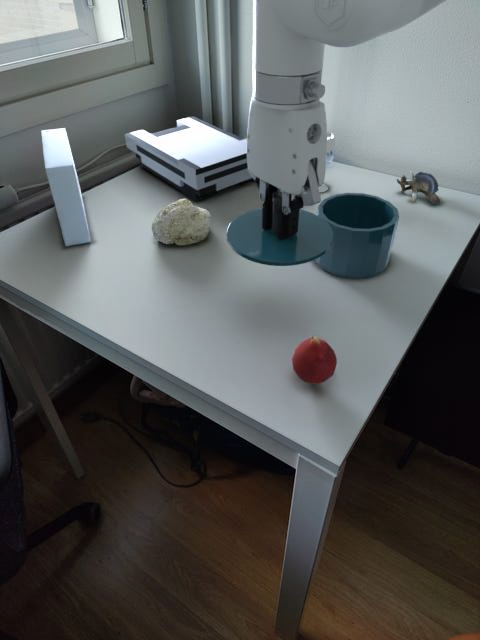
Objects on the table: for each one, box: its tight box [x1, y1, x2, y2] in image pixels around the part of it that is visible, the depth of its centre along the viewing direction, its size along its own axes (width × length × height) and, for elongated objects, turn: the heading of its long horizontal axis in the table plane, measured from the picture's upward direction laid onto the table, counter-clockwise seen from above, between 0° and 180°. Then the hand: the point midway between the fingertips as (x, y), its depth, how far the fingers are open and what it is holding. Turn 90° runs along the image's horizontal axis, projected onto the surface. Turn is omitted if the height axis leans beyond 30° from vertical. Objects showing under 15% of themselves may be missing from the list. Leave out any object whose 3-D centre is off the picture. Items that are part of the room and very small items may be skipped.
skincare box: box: [40, 127, 92, 247], centre depth 93 cm, size 21×5×16 cm, turn 20°
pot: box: [314, 192, 400, 279], centre depth 83 cm, size 14×14×10 cm
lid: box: [226, 190, 333, 267], centre depth 62 cm, size 15×15×7 cm
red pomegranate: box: [291, 335, 338, 385], centre depth 61 cm, size 6×6×8 cm
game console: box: [124, 116, 255, 202], centre depth 114 cm, size 21×32×8 cm, turn 38°
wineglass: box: [319, 132, 336, 193], centre depth 104 cm, size 6×6×12 cm
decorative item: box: [151, 197, 212, 246], centre depth 90 cm, size 12×9×10 cm
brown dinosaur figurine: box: [396, 169, 441, 206], centre depth 101 cm, size 8×7×9 cm
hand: (279, 230), depth 63 cm, fingers closed on lid, 2 cm apart
